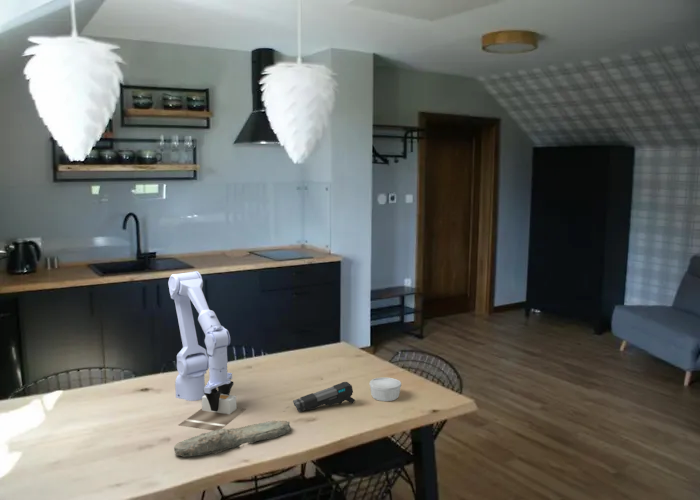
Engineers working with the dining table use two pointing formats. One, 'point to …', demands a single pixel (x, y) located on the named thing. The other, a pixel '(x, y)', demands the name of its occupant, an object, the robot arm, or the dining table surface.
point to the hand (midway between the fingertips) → (219, 407)
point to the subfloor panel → (210, 419)
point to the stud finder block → (221, 404)
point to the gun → (325, 397)
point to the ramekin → (385, 389)
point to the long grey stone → (230, 438)
